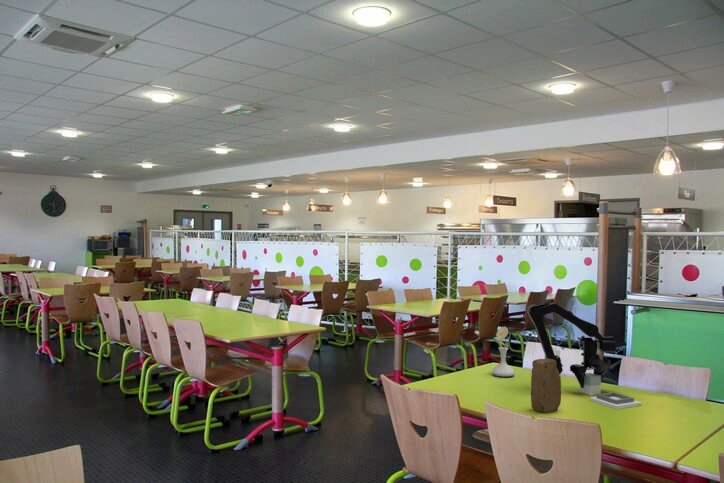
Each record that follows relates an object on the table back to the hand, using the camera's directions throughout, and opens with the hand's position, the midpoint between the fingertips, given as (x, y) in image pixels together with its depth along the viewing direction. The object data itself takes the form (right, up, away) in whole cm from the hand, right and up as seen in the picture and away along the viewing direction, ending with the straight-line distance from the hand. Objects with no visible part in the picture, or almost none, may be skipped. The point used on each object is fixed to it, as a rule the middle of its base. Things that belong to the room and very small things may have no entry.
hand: (590, 386), depth 245 cm
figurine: (-6, -3, +31) cm, 32 cm away
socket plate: (+4, -2, -16) cm, 16 cm away
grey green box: (0, -3, 0) cm, 3 cm away
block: (-28, -2, -27) cm, 39 cm away
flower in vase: (-30, -3, +31) cm, 44 cm away
